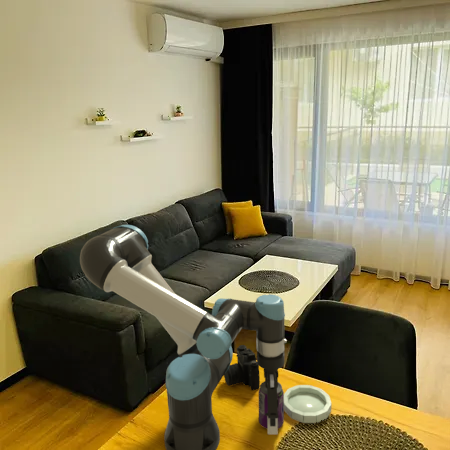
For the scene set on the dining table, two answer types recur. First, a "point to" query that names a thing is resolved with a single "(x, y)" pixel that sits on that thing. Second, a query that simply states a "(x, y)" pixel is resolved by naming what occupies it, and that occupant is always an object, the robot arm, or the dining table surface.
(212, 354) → the robot arm
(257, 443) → the dining table surface
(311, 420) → the tray
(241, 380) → the camera
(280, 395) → the beverage can
